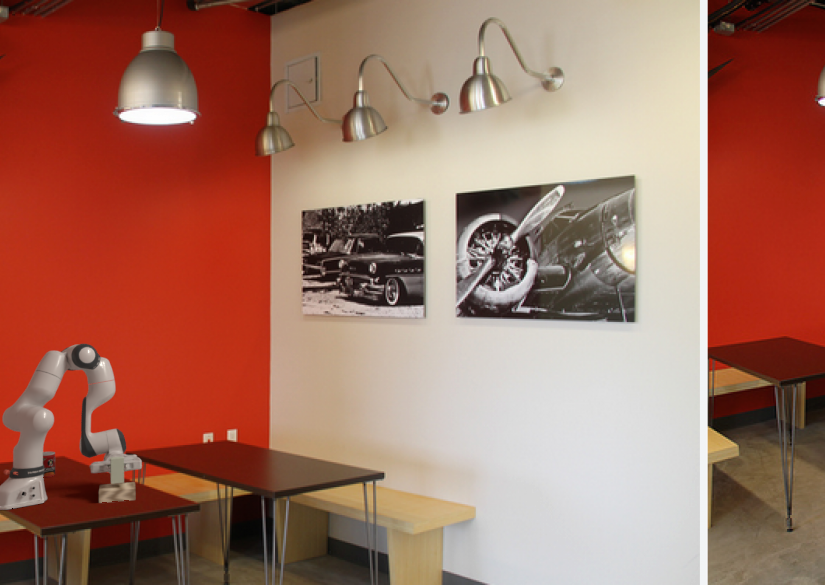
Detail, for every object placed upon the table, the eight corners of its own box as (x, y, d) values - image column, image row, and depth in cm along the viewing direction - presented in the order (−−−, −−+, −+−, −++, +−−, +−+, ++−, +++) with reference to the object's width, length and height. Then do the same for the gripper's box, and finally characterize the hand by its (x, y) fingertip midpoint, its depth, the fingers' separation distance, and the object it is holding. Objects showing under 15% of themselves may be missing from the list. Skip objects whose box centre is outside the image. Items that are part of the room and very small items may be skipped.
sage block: (111, 483, 328) (111, 459, 328) (110, 481, 333) (110, 457, 333) (124, 482, 330) (123, 458, 330) (123, 480, 335) (123, 456, 335)
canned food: (42, 478, 373) (42, 454, 373) (34, 476, 378) (34, 453, 378) (58, 475, 379) (58, 452, 379) (49, 473, 384) (49, 450, 384)
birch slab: (98, 504, 322) (98, 491, 322) (99, 496, 335) (99, 484, 336) (135, 500, 327) (135, 488, 327) (134, 493, 340) (134, 481, 340)
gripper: (89, 458, 339) (90, 463, 327) (140, 454, 348) (142, 459, 335) (89, 473, 339) (90, 479, 327) (140, 468, 347) (142, 474, 335)
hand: (117, 469), depth 331 cm, fingers closed on sage block, 5 cm apart
